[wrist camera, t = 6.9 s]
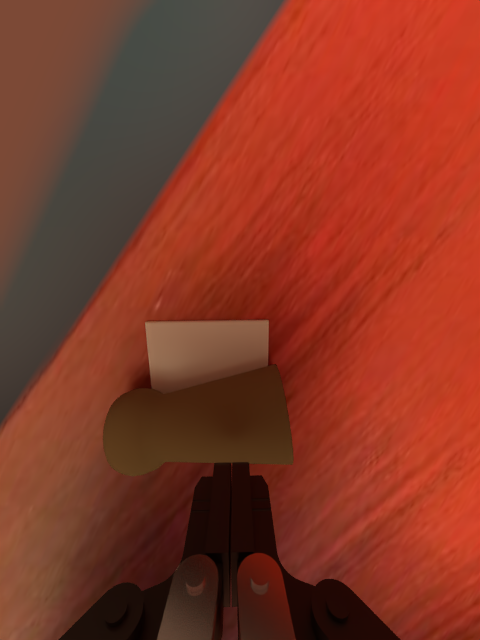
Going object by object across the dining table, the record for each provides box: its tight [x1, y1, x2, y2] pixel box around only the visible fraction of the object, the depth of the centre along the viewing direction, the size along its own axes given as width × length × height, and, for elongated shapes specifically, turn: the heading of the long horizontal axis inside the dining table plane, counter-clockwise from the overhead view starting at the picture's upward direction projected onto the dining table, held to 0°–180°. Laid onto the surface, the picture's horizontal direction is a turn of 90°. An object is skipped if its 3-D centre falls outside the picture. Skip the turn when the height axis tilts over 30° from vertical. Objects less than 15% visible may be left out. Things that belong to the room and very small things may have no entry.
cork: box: [103, 364, 293, 476], centre depth 17 cm, size 6×6×11 cm
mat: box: [145, 320, 269, 394], centre depth 19 cm, size 8×10×1 cm
